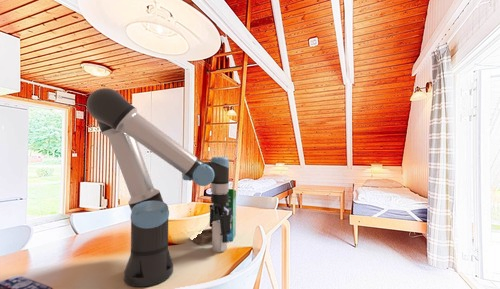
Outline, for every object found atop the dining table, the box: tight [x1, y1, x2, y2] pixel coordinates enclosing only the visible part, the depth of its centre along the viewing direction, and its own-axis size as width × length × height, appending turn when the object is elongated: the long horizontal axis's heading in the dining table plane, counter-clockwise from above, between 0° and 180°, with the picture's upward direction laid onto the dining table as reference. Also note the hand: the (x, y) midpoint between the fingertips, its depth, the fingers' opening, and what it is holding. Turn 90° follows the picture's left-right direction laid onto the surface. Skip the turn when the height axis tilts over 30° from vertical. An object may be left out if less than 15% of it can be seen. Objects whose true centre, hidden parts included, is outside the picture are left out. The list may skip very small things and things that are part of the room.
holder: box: [191, 227, 212, 246], centre depth 117 cm, size 14×10×3 cm
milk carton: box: [219, 186, 237, 242], centre depth 119 cm, size 9×9×25 cm
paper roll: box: [211, 220, 227, 253], centre depth 104 cm, size 6×6×12 cm
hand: (219, 246), depth 104 cm, fingers closed on paper roll, 6 cm apart
